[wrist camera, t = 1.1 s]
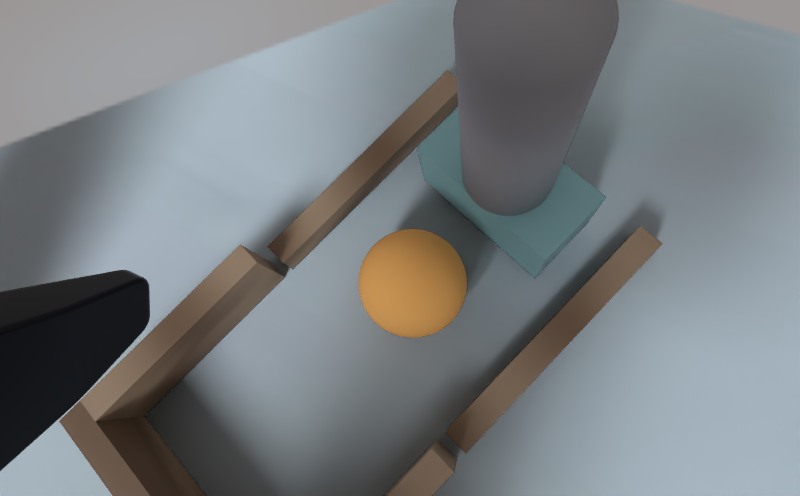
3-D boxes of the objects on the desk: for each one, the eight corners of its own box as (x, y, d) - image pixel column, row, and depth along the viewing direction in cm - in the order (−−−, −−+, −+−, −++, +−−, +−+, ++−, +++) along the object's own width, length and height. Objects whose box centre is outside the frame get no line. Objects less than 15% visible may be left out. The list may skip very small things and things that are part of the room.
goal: (283, 642, 19) (250, 688, 17) (112, 415, 22) (59, 421, 19) (652, 251, 21) (680, 230, 18) (448, 85, 24) (445, 44, 21)
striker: (533, 280, 21) (600, 166, 10) (422, 181, 22) (373, -12, 11) (588, 221, 21) (715, 47, 10) (476, 128, 23) (478, -111, 12)
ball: (418, 362, 21) (406, 358, 17) (349, 292, 22) (323, 274, 18) (488, 290, 22) (491, 270, 18) (417, 224, 23) (406, 192, 19)
